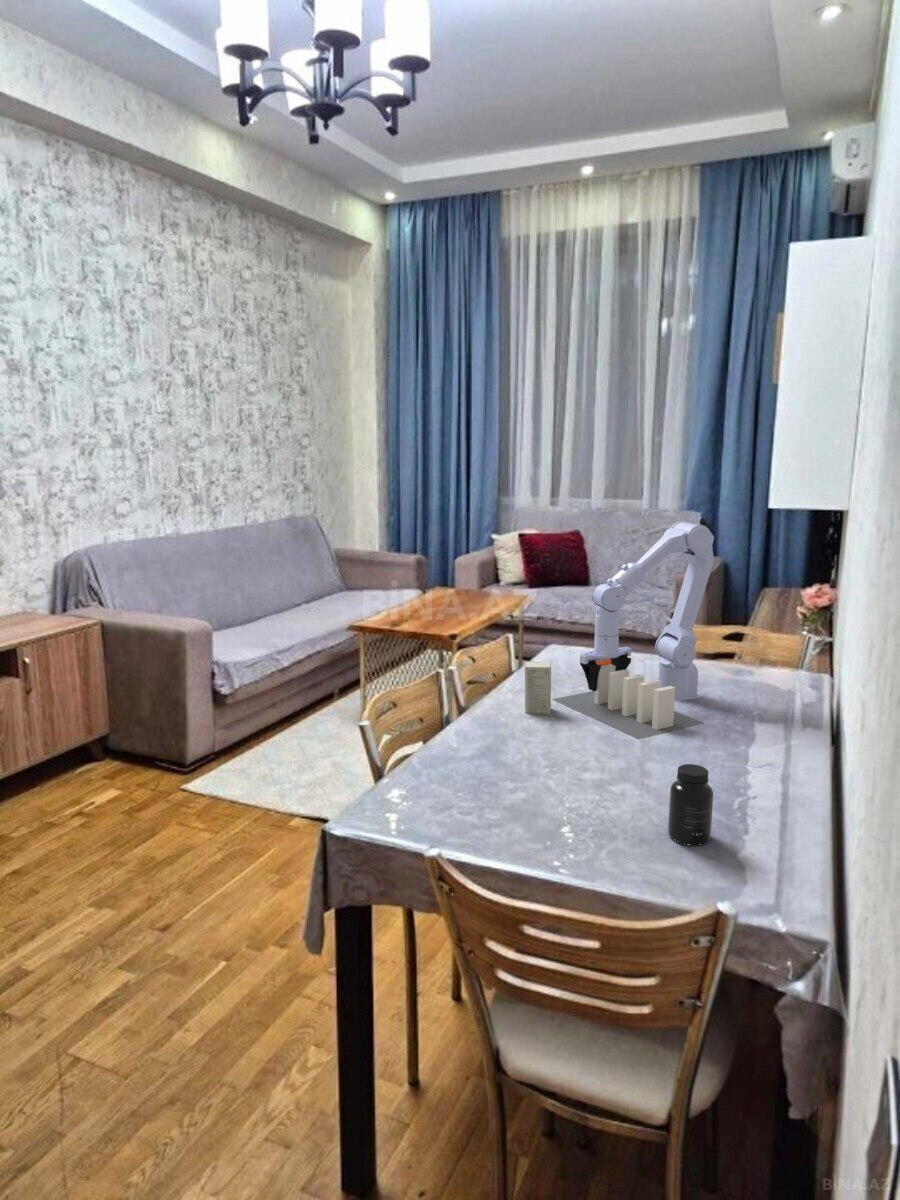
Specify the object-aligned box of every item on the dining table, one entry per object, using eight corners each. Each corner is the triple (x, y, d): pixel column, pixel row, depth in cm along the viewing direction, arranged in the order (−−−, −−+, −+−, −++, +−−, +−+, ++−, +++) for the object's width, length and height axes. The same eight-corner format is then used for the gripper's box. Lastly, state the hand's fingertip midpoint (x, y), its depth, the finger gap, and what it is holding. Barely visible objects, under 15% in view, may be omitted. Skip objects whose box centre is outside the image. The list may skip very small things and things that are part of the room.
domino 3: (621, 714, 192) (623, 677, 190) (637, 710, 194) (639, 674, 192) (626, 716, 191) (627, 679, 189) (642, 712, 193) (644, 676, 191)
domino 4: (636, 720, 188) (638, 683, 186) (652, 717, 190) (654, 680, 188) (641, 722, 186) (642, 685, 185) (657, 719, 189) (659, 681, 187)
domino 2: (607, 708, 196) (609, 672, 194) (623, 704, 199) (625, 669, 197) (611, 710, 195) (613, 674, 193) (627, 706, 197) (629, 670, 195)
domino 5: (651, 727, 183) (653, 689, 182) (668, 723, 186) (670, 685, 184) (656, 729, 182) (658, 691, 180) (673, 725, 185) (675, 687, 183)
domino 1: (594, 702, 200) (595, 667, 199) (609, 699, 203) (611, 664, 201) (598, 704, 199) (599, 668, 197) (613, 700, 202) (615, 665, 200)
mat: (613, 688, 213) (613, 686, 213) (704, 725, 186) (704, 722, 186) (551, 701, 203) (551, 699, 203) (638, 741, 177) (638, 739, 177)
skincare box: (550, 710, 197) (551, 661, 194) (550, 716, 192) (552, 667, 190) (524, 709, 197) (525, 661, 195) (524, 715, 193) (524, 666, 191)
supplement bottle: (661, 828, 138) (665, 761, 136) (700, 826, 139) (705, 760, 137) (676, 848, 132) (680, 778, 129) (717, 846, 132) (722, 777, 130)
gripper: (618, 626, 204) (616, 679, 207) (572, 634, 197) (571, 687, 200) (638, 632, 198) (635, 686, 201) (591, 640, 191) (589, 695, 194)
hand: (604, 687), depth 200 cm, fingers open, 7 cm apart
